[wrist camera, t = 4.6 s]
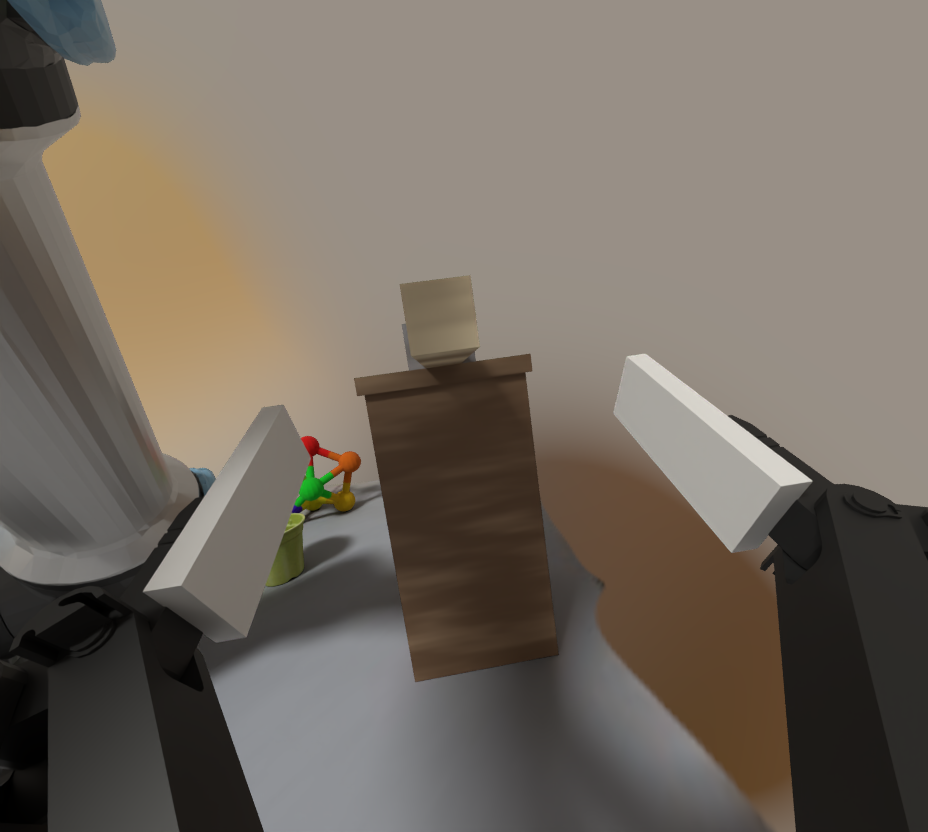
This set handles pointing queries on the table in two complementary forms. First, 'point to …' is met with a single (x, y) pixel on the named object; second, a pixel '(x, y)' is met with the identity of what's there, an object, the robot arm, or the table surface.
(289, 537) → the plant pot
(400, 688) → the table surface
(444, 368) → the stand
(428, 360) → the mallet
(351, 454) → the molecular model
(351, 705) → the table surface
